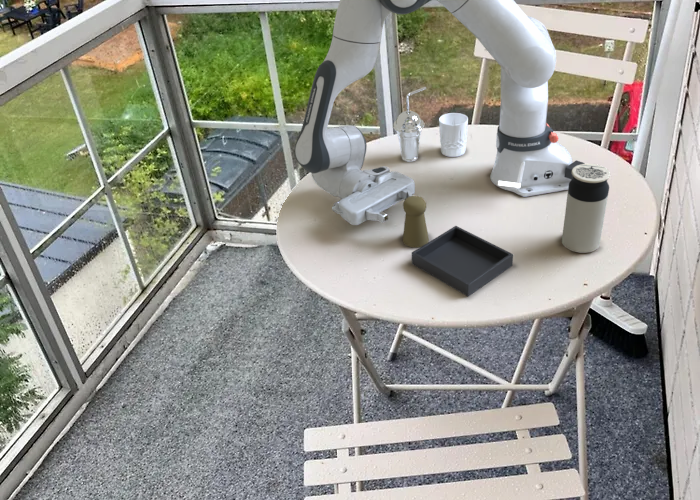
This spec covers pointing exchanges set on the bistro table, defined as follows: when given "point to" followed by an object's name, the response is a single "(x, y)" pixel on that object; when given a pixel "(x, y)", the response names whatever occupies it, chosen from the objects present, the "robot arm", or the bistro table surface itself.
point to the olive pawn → (415, 222)
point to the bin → (462, 260)
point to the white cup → (453, 134)
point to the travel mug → (585, 208)
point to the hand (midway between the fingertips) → (400, 210)
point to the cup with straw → (409, 131)
